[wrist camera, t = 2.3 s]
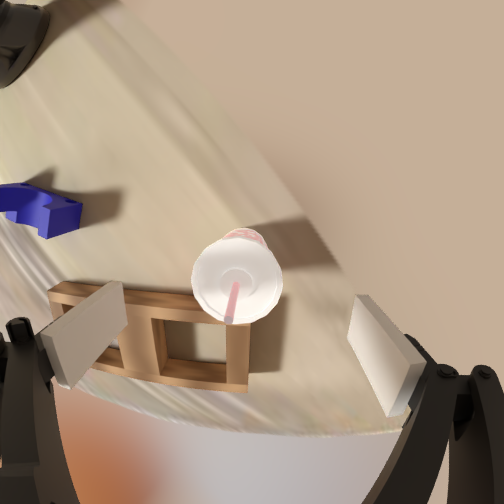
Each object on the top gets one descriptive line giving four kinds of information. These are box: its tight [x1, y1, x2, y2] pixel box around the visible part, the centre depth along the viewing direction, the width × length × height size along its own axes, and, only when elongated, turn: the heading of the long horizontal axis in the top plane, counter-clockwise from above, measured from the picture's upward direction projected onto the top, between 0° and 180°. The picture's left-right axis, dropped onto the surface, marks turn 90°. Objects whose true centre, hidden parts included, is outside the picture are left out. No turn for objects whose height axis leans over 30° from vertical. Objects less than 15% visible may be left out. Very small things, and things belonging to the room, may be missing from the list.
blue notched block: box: [0, 182, 83, 239], centre depth 23 cm, size 12×4×6 cm, turn 71°
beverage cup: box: [191, 228, 283, 324], centre depth 20 cm, size 6×6×14 cm
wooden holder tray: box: [47, 281, 251, 393], centre depth 27 cm, size 24×10×4 cm, turn 88°
